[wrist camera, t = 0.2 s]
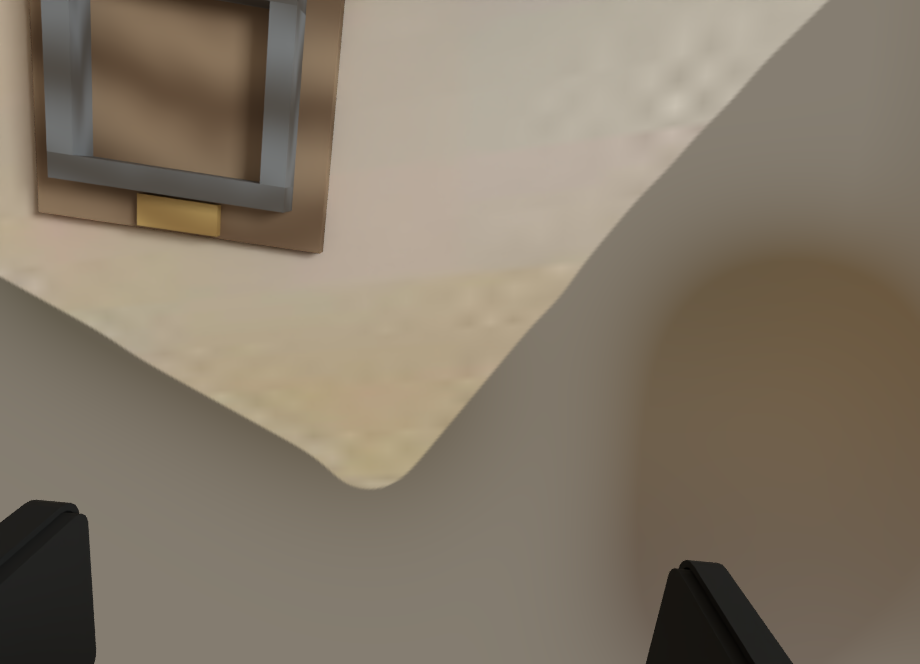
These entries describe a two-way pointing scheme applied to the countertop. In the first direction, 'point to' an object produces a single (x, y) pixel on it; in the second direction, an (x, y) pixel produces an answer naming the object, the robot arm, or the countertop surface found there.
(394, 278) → the countertop surface
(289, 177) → the square framed tray
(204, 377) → the countertop surface
